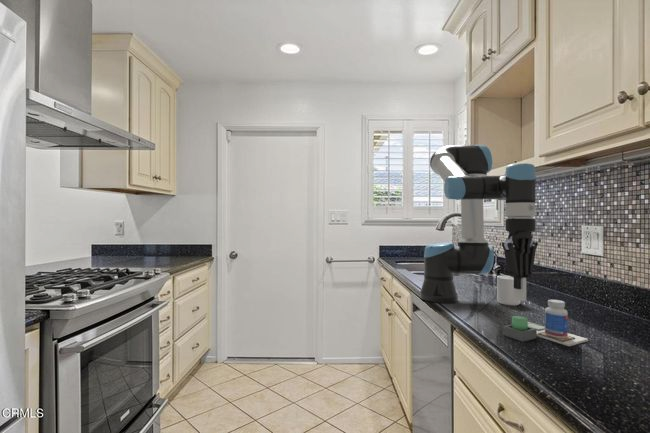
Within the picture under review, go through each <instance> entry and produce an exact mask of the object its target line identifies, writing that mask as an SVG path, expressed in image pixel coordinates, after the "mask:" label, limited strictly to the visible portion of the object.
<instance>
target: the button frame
mask: <svg viewBox="0 0 650 433" xmlns="http://www.w3.org/2000/svg"><path fill="white" fill-rule="evenodd" d="M502 328H503V329H502V330H503V331H502V334H503V335H502V336H506V337H508V338H511V339H514V340H517V341H519V342H529V341H532V340H535V339H537V336H536V335H537V329H534V328H531V327H528V330H525V331H520V330H517V329H514V328H512V323H511V324H507V325H503V327H502Z"/></svg>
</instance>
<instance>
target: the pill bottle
mask: <svg viewBox="0 0 650 433" xmlns="http://www.w3.org/2000/svg"><path fill="white" fill-rule="evenodd" d="M547 306H548V307H546V308H545V309H544V326H545V334H546V335H548V336H551V337H555V338H567V336H568V330H569V329H568V328H569V324H568V322H569V319H568V318H569V316H568V315H569V313H568V310H567V309H565V307H566V302H565V301H564V300H560V299H548V300H547Z"/></svg>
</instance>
